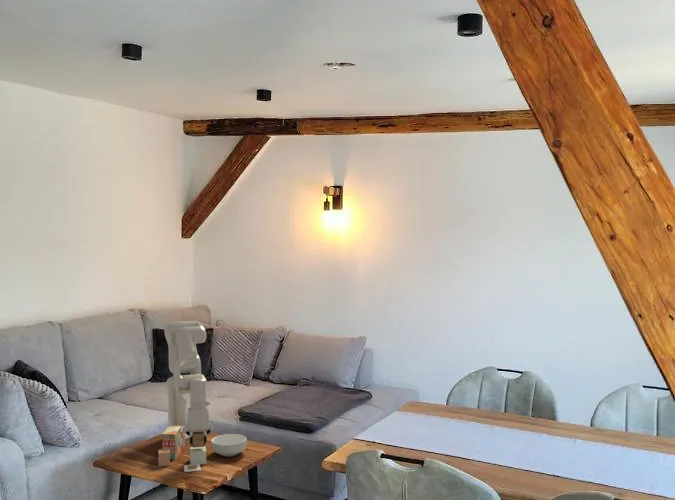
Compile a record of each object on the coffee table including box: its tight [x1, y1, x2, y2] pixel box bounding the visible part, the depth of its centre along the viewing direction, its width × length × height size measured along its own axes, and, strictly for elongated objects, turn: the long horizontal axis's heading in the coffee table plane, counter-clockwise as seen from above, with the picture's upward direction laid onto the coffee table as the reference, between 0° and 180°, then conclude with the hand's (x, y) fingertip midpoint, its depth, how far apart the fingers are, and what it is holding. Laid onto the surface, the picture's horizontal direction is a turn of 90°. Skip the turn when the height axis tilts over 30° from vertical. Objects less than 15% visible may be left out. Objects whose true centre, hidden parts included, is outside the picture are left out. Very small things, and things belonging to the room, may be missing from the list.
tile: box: [183, 464, 202, 473], centre depth 293 cm, size 7×7×1 cm
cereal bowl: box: [210, 433, 248, 457], centre depth 313 cm, size 17×17×7 cm
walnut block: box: [192, 430, 205, 448], centre depth 302 cm, size 5×5×6 cm
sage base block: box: [189, 445, 207, 465], centre depth 302 cm, size 7×7×6 cm
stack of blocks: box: [161, 425, 187, 461], centre depth 315 cm, size 21×6×12 cm, turn 0°
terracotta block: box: [157, 448, 171, 467], centre depth 299 cm, size 5×5×6 cm
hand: (198, 444), depth 302 cm, fingers closed on walnut block, 4 cm apart
